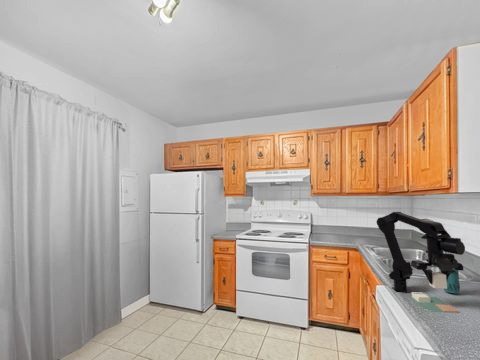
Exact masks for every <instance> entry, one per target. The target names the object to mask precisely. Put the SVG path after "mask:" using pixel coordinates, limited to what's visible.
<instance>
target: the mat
mask: <svg viewBox="0 0 480 360" xmlns="http://www.w3.org/2000/svg"><path fill="white" fill-rule="evenodd" d="M427 296H428V295H427ZM407 297H408V298H409V299H410V300H412V301H413V302H414V303H416V304H417V305H418V306H419V307H421V309H423V310H424V309H428V310H429V311H430V310H431V312H430V313H445V312H444V311H443V310H441V309H440V308H438V307H437V306H436V305H435V304H440V305H449V303H447V302H445V301H444V300H442V299H441V298H439V297H438V296H430V295H429V296H428V297H430V301H431V303H426V302H418V301H417V300H415V299H414V298H413V297H412V295H407ZM446 313H449V314H450V313H451V314H453V313H454V314H461V312H446Z"/></svg>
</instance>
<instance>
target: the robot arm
mask: <svg viewBox="0 0 480 360" xmlns="http://www.w3.org/2000/svg"><path fill="white" fill-rule="evenodd" d="M397 222H401V223H404V224H406V225H409V226H412V227H415V228H417V229H418V230H420V232H422V233H424V235H422V236H421V237H420V238H421V239H424V240H426V250H425V253H426V254H427V259H426V262H425V261H422V260H421V259H419V260H415V259H414V260H412V261H411V262H410V261H408V262H407V261H406V260H405V258H404V255H403V253H402V251H401V247H400V244H399V241H398V240H397V237H396V234H395V230H396V223H397ZM376 225H377V228H378V229H379V231H380V232H382V233H383V235H384V238H385V240H386V243H387V245H388V249H389V252H390V255H391V258H392V264H391V265H392V266H391V268H392V271H391V272H390V273H388V277H389V279H390V280H393V286H391V289H392V290H393V291H394V292H396V293H397V292H405V294H410V293H411V291H409V290H408V287H407V286H408V285H407V280H411V276H413V273H414V272H413V271H414V269H416V270H418V271H421V270H422V272H423V274H424V275H425V276H426V278H427V280H428V283H429V282H430V284H432V282H433V281H432V272H434V270H433V269H431V268H438V269H439V270H440V272H441V273H443V274H445V275H446V281H447V280H448V277H449V275H450V274H451V273H453V272H455V270H458V271H464V270H465V269H464V266H463V264H462V263H461V262H458V259H456V258H455V259H447V258H446V255H445V254H446V253H447V254H453V255H459V256H460V255H461V256H462V255H463V254H465V251H466V246H465V244H464V243H463V241H462V240H461V238H460V237H459V238H458V237H452V236H451V235H450V233H449V232H448V231H447V230H446V229H445V227H444V225H443V224H442V223H441V222H438V221H433V220H425V219H420V218H419V217H415V216H412V215H409V214H406V213H404V212H401V211H392V212H391V213H389V214H386V215H384V216H382V217H381V216H380V217H378V218H377V219H376ZM453 268H454V269H455V270H453Z"/></svg>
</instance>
